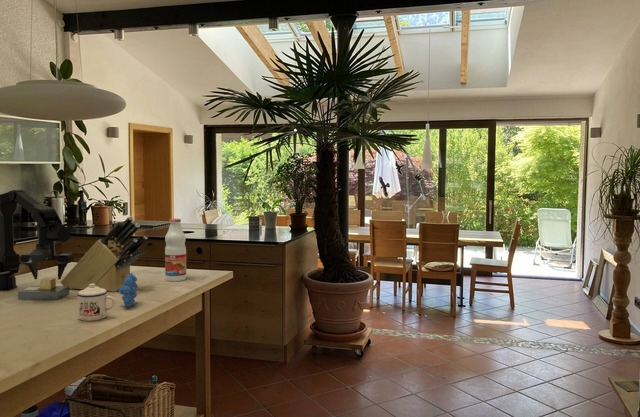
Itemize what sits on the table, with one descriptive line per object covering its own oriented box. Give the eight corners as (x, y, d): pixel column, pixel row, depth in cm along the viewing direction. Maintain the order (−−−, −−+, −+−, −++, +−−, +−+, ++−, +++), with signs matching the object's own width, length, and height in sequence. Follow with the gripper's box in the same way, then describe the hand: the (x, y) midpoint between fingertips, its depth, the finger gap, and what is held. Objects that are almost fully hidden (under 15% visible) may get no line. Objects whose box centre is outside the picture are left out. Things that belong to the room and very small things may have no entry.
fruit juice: (189, 277, 239) (189, 218, 236) (181, 282, 229) (180, 220, 227) (170, 276, 240) (169, 217, 238) (161, 281, 231) (160, 219, 228)
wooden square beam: (40, 297, 200) (40, 280, 199) (45, 295, 204) (45, 278, 203) (50, 297, 200) (50, 280, 199) (56, 295, 204) (55, 278, 203)
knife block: (135, 293, 207) (134, 218, 205) (59, 289, 214) (57, 216, 212) (150, 287, 218) (149, 215, 216) (77, 283, 225) (75, 213, 223)
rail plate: (18, 299, 197) (18, 291, 197) (32, 293, 207) (32, 285, 207) (57, 299, 197) (57, 291, 197) (69, 293, 207) (69, 285, 207)
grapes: (123, 301, 195) (123, 270, 194) (141, 301, 196) (141, 270, 195) (113, 310, 184) (112, 277, 183) (132, 309, 184) (131, 277, 183)
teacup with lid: (74, 321, 170) (73, 287, 169) (84, 313, 179) (83, 281, 178) (111, 321, 171) (110, 286, 170) (119, 313, 180) (118, 280, 179)
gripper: (10, 243, 192) (11, 283, 193) (60, 243, 192) (61, 284, 194) (26, 238, 203) (28, 277, 204) (73, 239, 203) (74, 277, 205)
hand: (47, 279), depth 201 cm, fingers open, 9 cm apart
